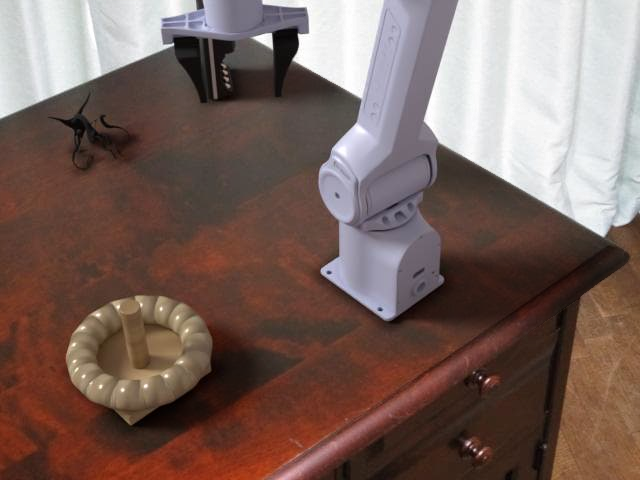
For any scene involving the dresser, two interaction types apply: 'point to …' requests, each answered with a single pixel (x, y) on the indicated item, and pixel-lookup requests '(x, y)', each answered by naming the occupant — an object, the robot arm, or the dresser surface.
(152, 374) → the stand
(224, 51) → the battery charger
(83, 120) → the creature
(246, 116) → the dresser surface
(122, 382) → the segmented beige ring
